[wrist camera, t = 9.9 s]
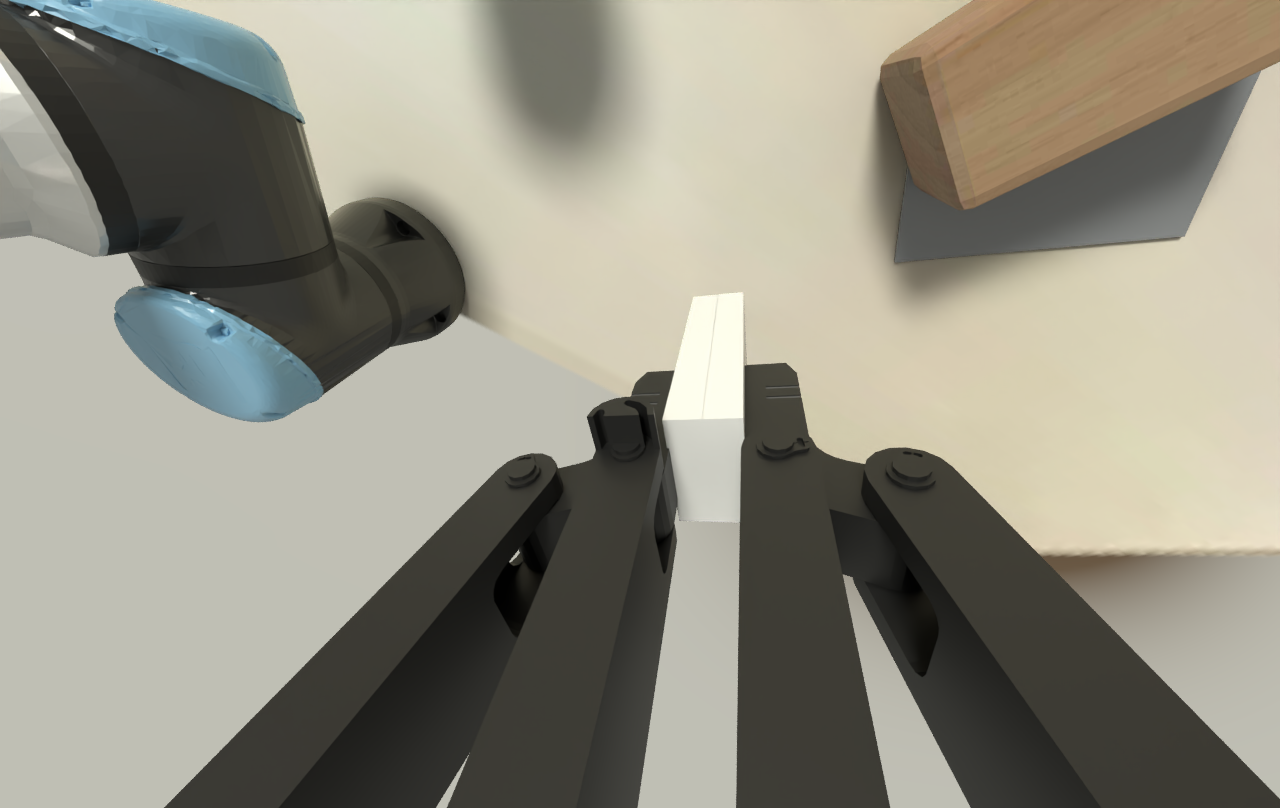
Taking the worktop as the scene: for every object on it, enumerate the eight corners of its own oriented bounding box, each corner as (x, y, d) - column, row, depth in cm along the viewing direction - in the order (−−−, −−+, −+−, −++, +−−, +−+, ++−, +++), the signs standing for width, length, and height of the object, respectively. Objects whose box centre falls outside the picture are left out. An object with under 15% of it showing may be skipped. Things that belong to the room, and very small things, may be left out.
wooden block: (872, 65, 33) (1267, -195, 24) (914, 193, 37) (1269, 9, 28) (912, 53, 25) (1534, -348, 16) (960, 220, 28) (1484, -28, 20)
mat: (894, 261, 40) (894, 262, 40) (926, 31, 31) (927, 31, 31) (1181, 235, 35) (1184, 236, 35) (1310, -47, 26) (1315, -48, 26)
